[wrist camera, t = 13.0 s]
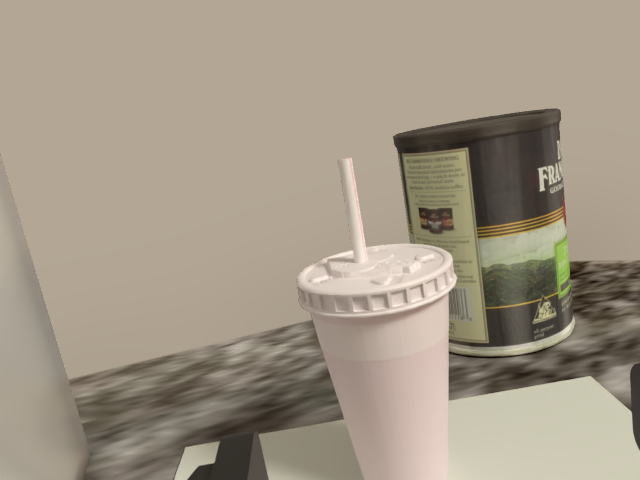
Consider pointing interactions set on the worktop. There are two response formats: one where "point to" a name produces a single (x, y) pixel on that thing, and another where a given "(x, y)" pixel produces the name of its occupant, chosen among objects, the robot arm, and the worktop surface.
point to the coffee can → (494, 227)
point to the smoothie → (386, 346)
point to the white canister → (32, 369)
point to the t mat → (478, 440)
